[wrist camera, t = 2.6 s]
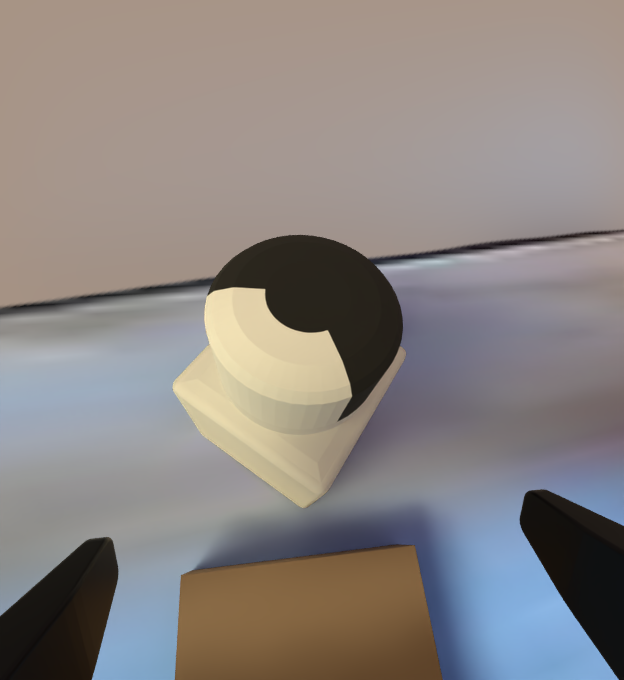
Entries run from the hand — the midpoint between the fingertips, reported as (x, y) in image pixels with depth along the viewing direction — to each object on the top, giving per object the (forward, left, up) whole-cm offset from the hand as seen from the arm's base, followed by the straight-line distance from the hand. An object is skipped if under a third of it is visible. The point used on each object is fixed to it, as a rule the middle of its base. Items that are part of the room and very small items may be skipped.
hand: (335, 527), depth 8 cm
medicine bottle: (+3, -5, -12) cm, 13 cm away
